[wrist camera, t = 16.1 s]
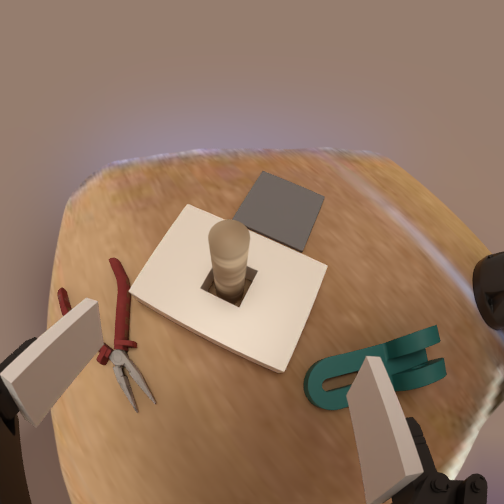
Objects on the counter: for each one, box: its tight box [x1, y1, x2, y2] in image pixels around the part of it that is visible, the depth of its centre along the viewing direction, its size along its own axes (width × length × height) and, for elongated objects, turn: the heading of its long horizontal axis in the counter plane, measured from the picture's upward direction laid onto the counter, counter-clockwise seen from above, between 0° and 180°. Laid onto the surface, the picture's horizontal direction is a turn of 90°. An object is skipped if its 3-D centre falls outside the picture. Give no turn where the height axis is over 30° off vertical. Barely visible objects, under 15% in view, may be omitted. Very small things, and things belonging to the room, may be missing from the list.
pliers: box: [58, 258, 156, 413], centre depth 31 cm, size 12×20×3 cm, turn 33°
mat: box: [232, 171, 325, 252], centre depth 42 cm, size 11×11×1 cm
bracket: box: [304, 325, 447, 410], centre depth 28 cm, size 18×7×8 cm, turn 98°
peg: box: [208, 219, 250, 304], centre depth 29 cm, size 4×4×14 cm
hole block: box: [129, 204, 327, 373], centre depth 34 cm, size 20×14×4 cm
